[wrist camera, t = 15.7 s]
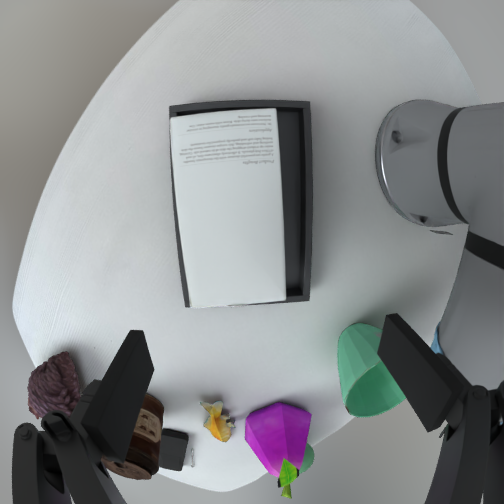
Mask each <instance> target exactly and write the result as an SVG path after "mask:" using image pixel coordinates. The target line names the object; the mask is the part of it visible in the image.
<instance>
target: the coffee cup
mask: <svg viewBox="0 0 504 504" xmlns="http://www.w3.org/2000/svg"><path fill="white" fill-rule="evenodd" d="M163 413H164V407H163V405H162V404H161V403H160V401H158V400H157V399H156V398H154V397H152V396H150V395H148V394H146V395H145V398H144V401H143V404H142V407H141V410H140V413H139V416H138V419H137V422H136V425H135V428H134V432H133V435H132V438H131V441H130V445H129V448H128V451H127V455H126V458H125V462H124V464H122V463H118V462H114V461H110V460H108V459H107V458H106V457H105V456H104V454H103V455H102V458H101V461H102V462H103V464H104V465H105V467H106V468H107V469H109V470H110V471H112V472H114V473H116V474H118V475H121V476H123V477H127V478H132V479H136V480H141V479H145V480H146V479H151V476H152V475H154V474H156V473H157V472H158V470H159V453H160V444H161V431H162V426H163Z"/></svg>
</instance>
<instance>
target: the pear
mask: <svg viewBox="0 0 504 504" xmlns="http://www.w3.org/2000/svg"><path fill="white" fill-rule="evenodd" d="M311 415H312V414H311V413H309V412H307V411H306V410H304V409H301V408H298V407H294V406H291V405H288V404H284V403H281V402H278V403H275V404H273V405H270V406H268V407H265V408H262V409H260V410H257V411H254V412H252V413H250V414H249V415H248V417H247V418H246V426H245V440H246V441H247V443H248V444H249V446H250V447H251V449H252V450H253V451H254V453H255V454H256V456H257V457H258V458H259V460H260V461H261V462H262V464H263V465H264V466H265V468H266V469H267V470H268V472H269V473H270V474H272V475H274V476H277V477H279V479H278V487H283V486H284V489H283V492H282V495H281V496H284V497H288V498H292V497H291V489H290V483H291V482H293V481H294V480H295V479H296V478H297V477H298V476H299V470H300V468H301V465H302V462H303V458H304V453H305V448H306V443H307V437H308V432H309V426H310V421H311Z"/></svg>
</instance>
